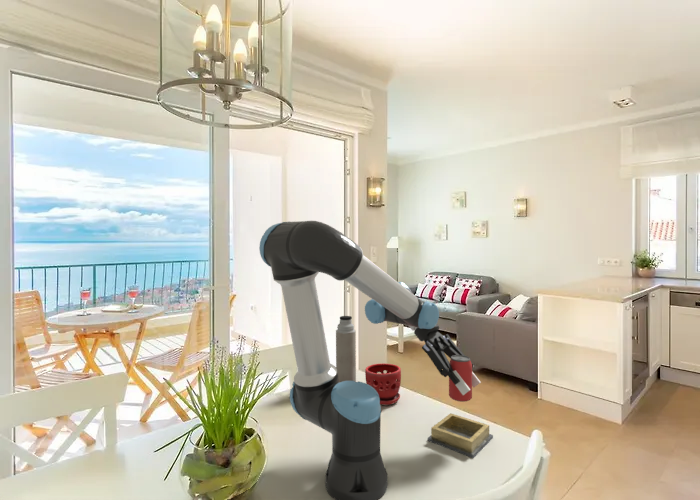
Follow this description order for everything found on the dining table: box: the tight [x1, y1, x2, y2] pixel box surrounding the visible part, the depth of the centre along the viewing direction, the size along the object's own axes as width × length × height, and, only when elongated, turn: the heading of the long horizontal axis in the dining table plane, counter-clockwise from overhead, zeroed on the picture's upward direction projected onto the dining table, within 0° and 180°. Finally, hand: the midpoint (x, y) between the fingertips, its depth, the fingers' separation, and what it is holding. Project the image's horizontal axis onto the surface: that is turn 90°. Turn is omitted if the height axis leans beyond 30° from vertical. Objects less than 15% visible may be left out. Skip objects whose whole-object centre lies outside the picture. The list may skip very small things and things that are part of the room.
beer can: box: [448, 354, 473, 403], centre depth 115 cm, size 7×7×12 cm
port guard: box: [427, 413, 494, 459], centre depth 115 cm, size 14×14×4 cm
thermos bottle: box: [335, 315, 357, 382], centre depth 158 cm, size 8×8×28 cm
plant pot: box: [364, 362, 402, 406], centre depth 144 cm, size 13×13×12 cm
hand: (472, 388), depth 113 cm, fingers closed on beer can, 6 cm apart
